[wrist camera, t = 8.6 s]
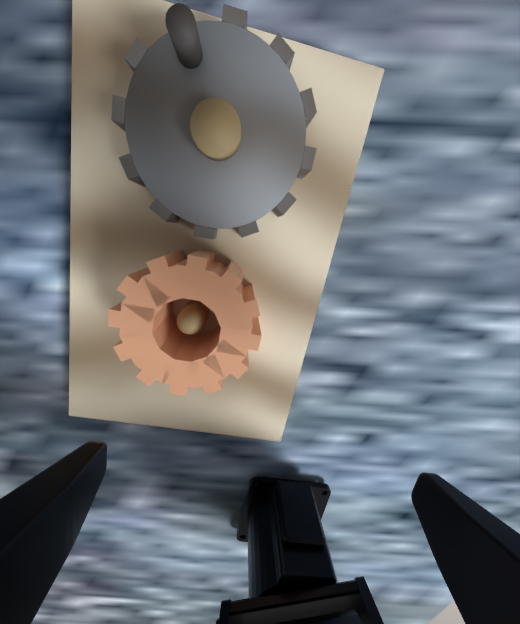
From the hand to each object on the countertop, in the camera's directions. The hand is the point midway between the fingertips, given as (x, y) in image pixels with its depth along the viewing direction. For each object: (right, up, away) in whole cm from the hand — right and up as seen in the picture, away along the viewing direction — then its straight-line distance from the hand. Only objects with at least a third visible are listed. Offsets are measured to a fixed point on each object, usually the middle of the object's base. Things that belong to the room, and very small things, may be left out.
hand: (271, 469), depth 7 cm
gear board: (-4, +7, +8) cm, 12 cm away
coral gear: (-4, +5, +8) cm, 10 cm away
